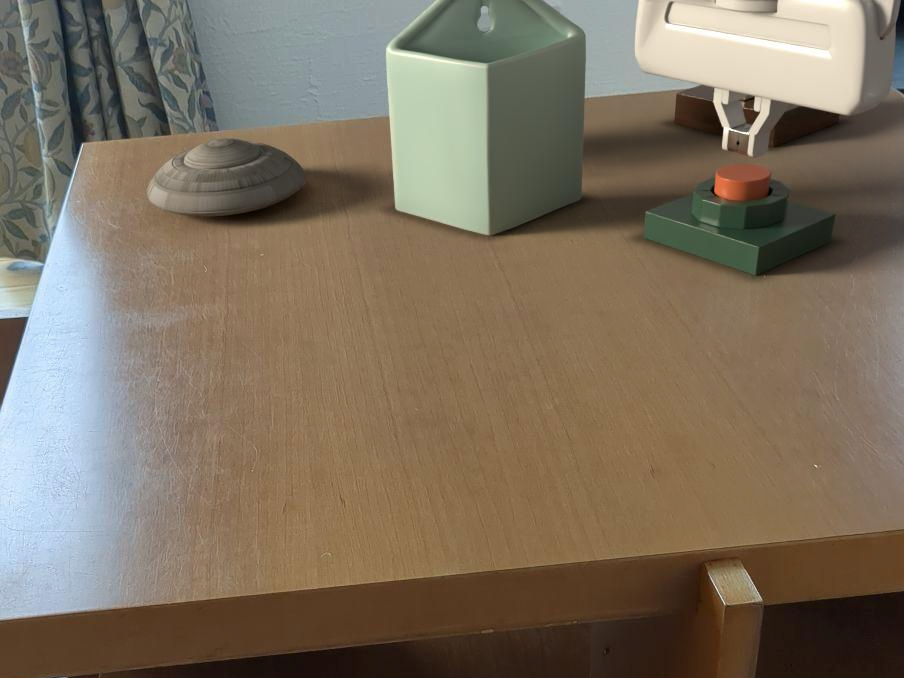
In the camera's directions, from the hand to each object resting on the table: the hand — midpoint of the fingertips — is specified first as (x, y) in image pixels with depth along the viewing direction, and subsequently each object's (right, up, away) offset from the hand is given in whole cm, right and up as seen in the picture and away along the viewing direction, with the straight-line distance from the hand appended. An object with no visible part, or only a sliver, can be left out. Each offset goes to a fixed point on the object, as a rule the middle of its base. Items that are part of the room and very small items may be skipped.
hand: (744, 152), depth 87 cm
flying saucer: (-41, +2, +21) cm, 47 cm away
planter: (-18, -2, +12) cm, 22 cm away
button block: (+1, -6, +4) cm, 7 cm away
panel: (+10, +12, +27) cm, 32 cm away
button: (0, -3, +2) cm, 3 cm away
